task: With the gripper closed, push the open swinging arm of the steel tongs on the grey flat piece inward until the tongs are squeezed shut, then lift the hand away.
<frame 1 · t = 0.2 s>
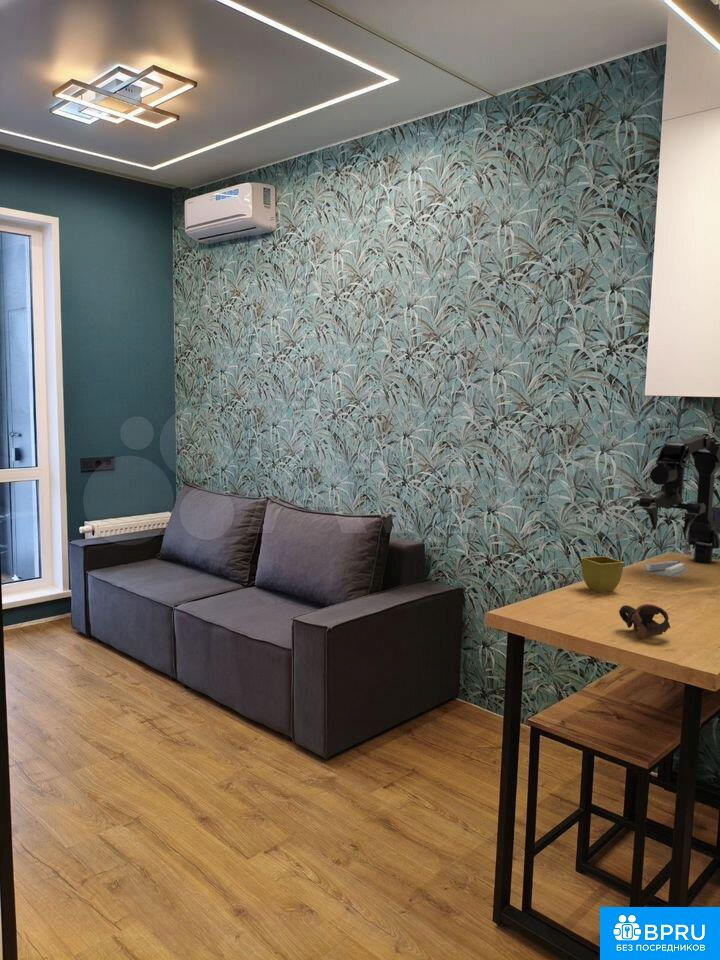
hand: (669, 532, 234), 14 cm above the table, tool pointing down, fingers open, 9 cm apart
dark brown openwork sculpture: (642, 634, 178), on the table
flower pot: (600, 590, 217), on the table
grey flat piece: (667, 573, 239), on the table
tong arm: (663, 565, 240), point 2 cm above the table, hinge at -20.0°
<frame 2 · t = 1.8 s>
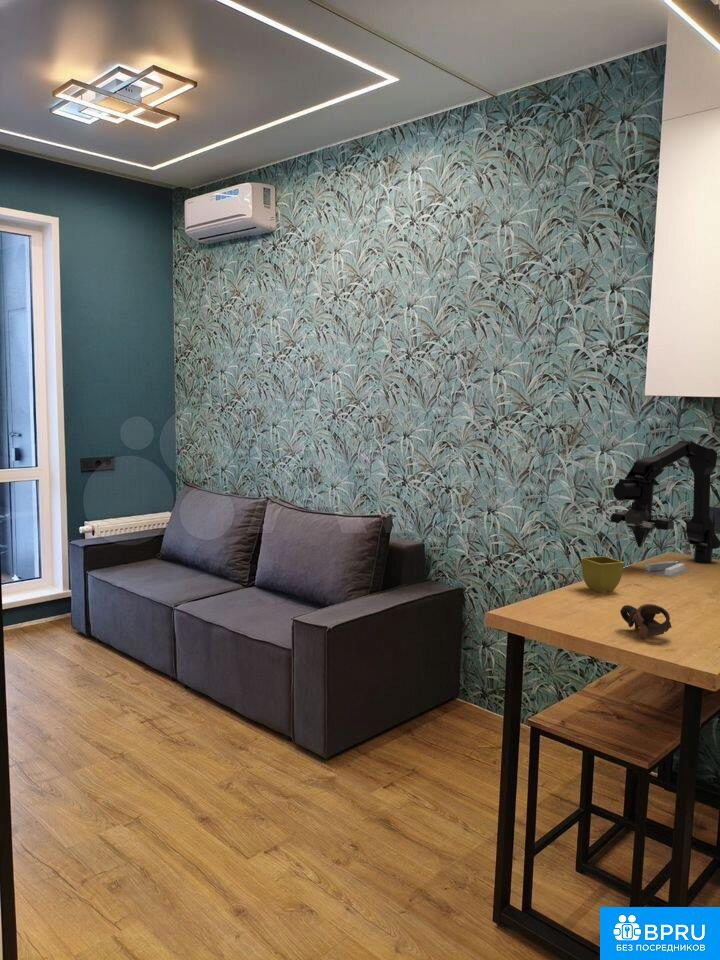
hand: (639, 547, 242), 8 cm above the table, tool pointing down, fingers closed
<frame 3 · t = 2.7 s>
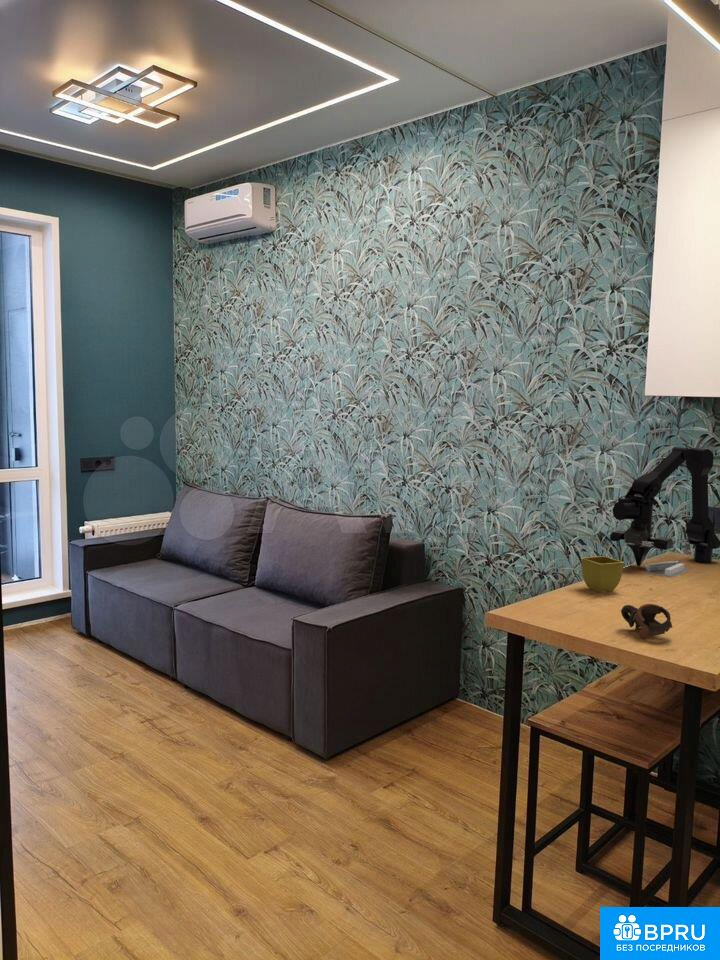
hand: (638, 565, 242), 1 cm above the table, tool pointing down, fingers closed
nothing on the table moved.
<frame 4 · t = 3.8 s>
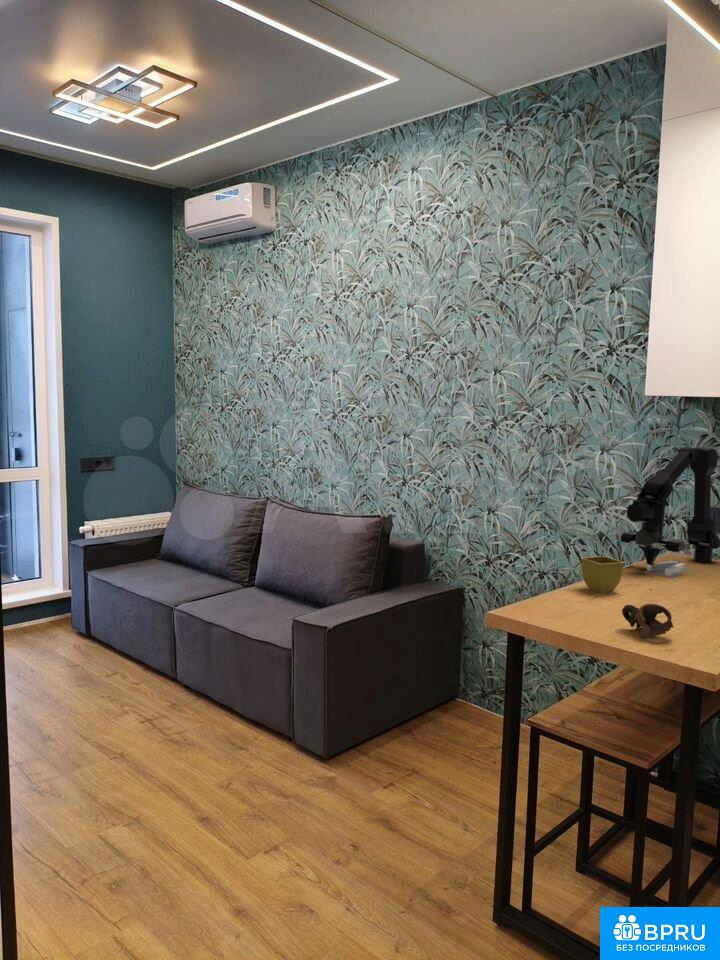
hand: (649, 567, 240), 2 cm above the table, tool pointing down, fingers closed
tong arm: (664, 565, 240), point 2 cm above the table, hinge at -18.4°, touching gripper
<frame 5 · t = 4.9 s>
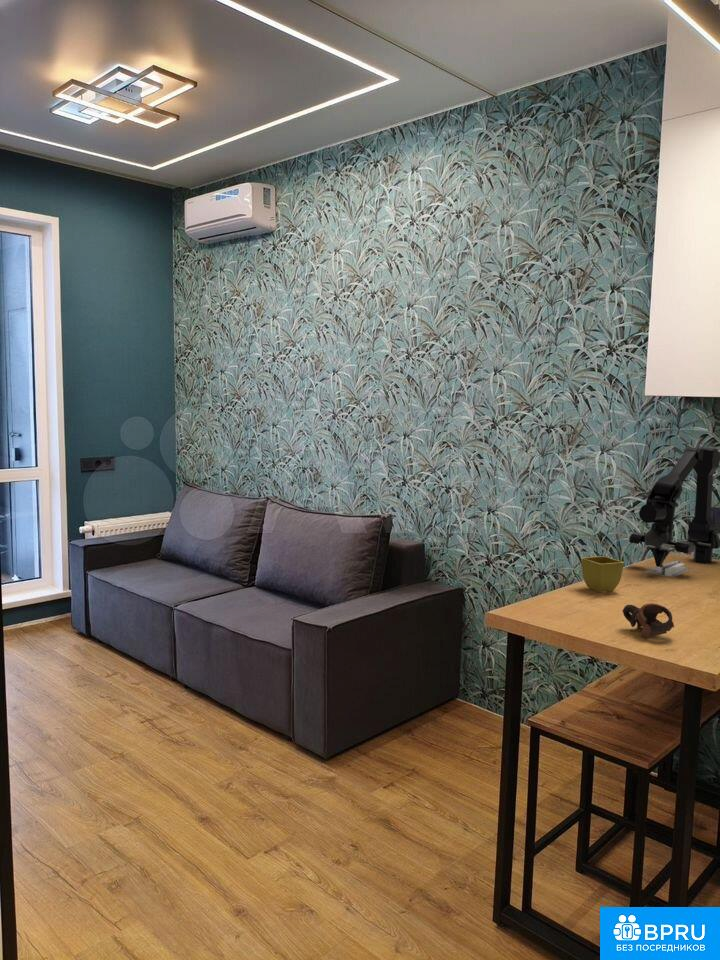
hand: (658, 569, 237), 2 cm above the table, tool pointing down, fingers closed
tong arm: (668, 566, 239), point 2 cm above the table, hinge at -2.7°, touching gripper
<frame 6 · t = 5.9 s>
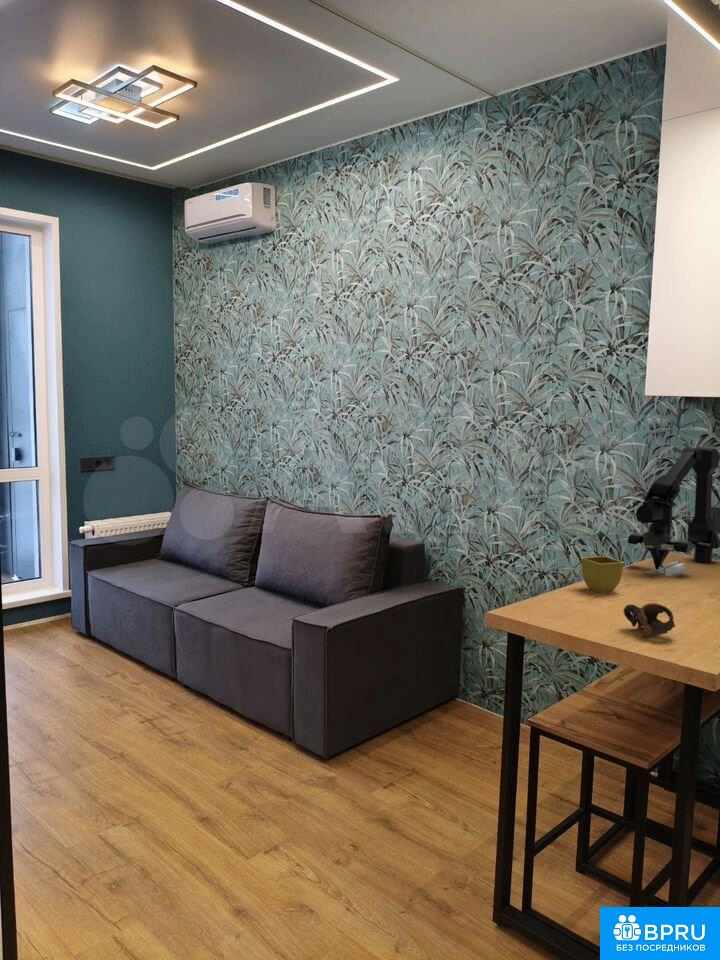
hand: (657, 569, 238), 2 cm above the table, tool pointing down, fingers closed
tong arm: (669, 567, 238), point 2 cm above the table, hinge at 0.4°
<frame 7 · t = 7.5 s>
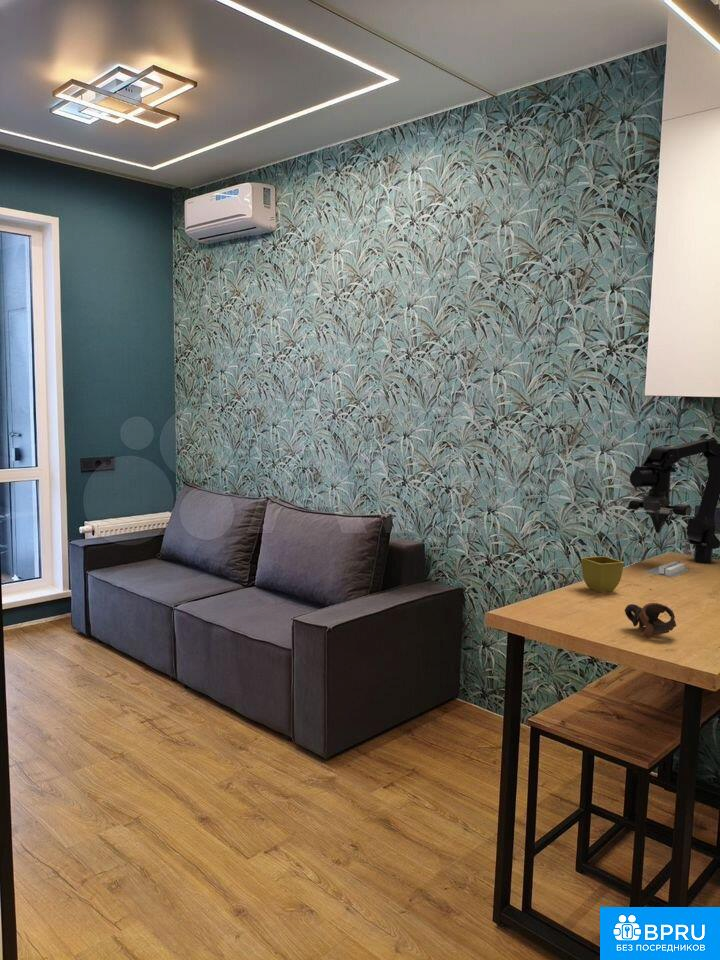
hand: (657, 532, 246), 12 cm above the table, tool pointing down, fingers closed
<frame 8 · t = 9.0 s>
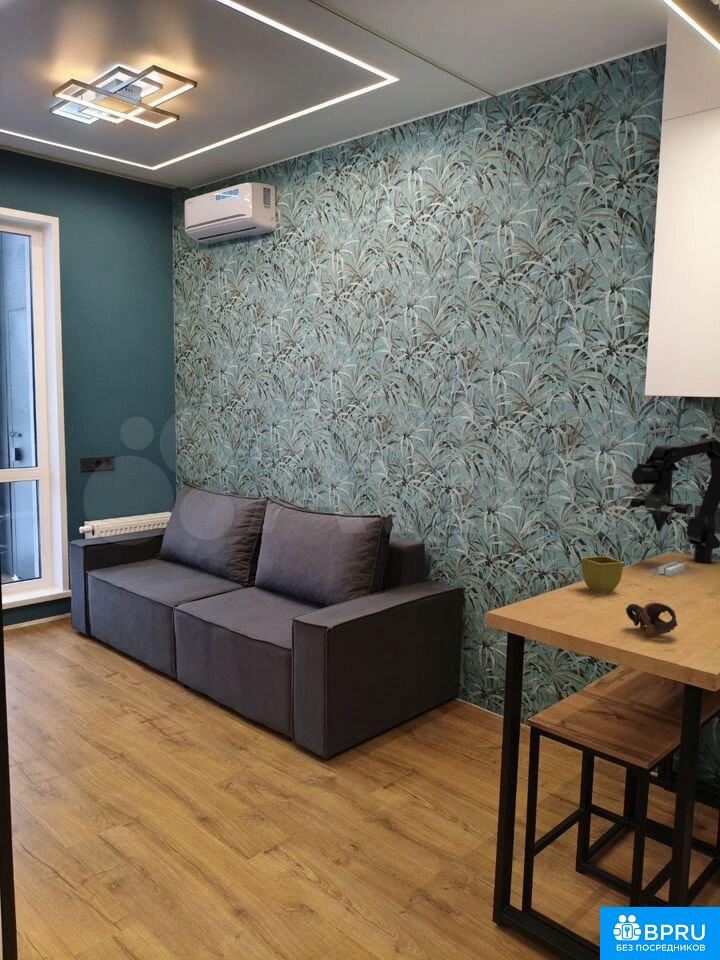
hand: (658, 531, 247), 12 cm above the table, tool pointing down, fingers closed
at the end: tong arm at +0° (first picture: -20°); flower pot moved 0.3 cm from its start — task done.
